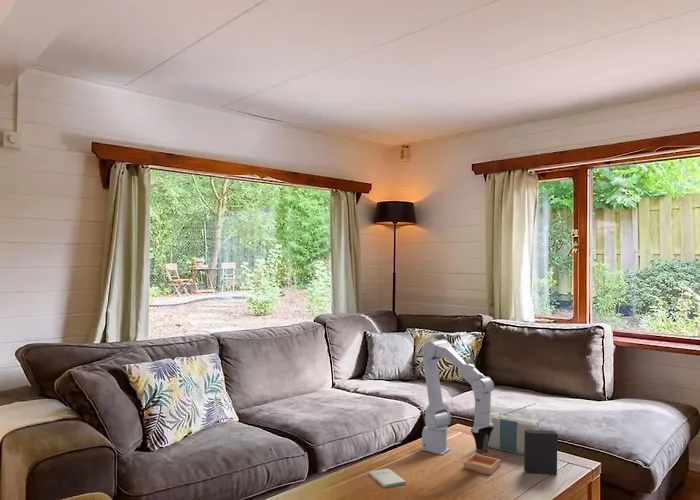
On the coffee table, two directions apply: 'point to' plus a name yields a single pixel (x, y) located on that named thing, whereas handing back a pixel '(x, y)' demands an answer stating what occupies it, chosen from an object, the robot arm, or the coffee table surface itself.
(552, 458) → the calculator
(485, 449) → the cell
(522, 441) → the stereo radio cassette player
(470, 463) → the dish
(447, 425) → the robot arm
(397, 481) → the external hard drive
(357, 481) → the coffee table surface
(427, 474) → the coffee table surface
